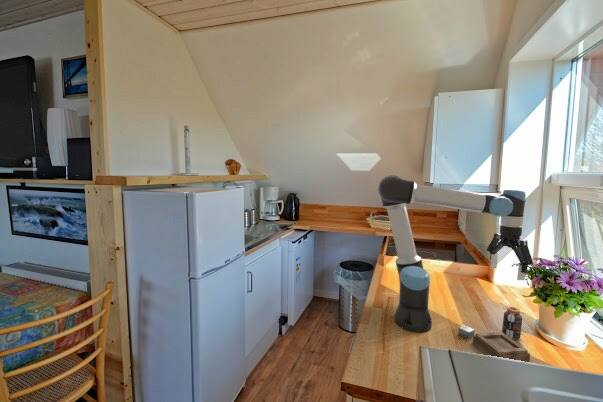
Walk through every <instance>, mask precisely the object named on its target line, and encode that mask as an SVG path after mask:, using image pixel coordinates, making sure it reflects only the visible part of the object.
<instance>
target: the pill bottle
mask: <svg viewBox="0 0 603 402" xmlns="http://www.w3.org/2000/svg"><path fill="white" fill-rule="evenodd" d="M520 313H521V310H520V309H519V308H517V307H515V306H507V310H506V311H505V312H503V318H502V319H503V320H502V330H501V332H503V333H504V334H505V335H507V336H508V337H510V338H511V339H513V340H519V339H521V335H522V326H523V316H522V315H521V314H520Z"/></svg>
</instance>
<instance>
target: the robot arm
mask: <svg viewBox="0 0 603 402" xmlns="http://www.w3.org/2000/svg"><path fill="white" fill-rule="evenodd" d="M378 194H379V196H380V200H381V203H382V207H383V208H384V209H386V211H387V215H388V219H389V223H390V228H391V229H390V230H391V232H392V237H393V241H394V245H395V246H394V247H395V251H396V255H397V258H396V259H395V265H396V269H397V274H398V278H399V300H398V305H397V307H396V310H395V312H394V315H393V316H394V318H393V320H395V321H394V322H395V324H396V323H397V324H398V325H397V324H396V325H397V326H399V327H400V326H401V327H400V328H402V327H403V328H402V329H404V328H405V329H404V330H406V329H407V330H406V331H409V330H410V332H413V331H414V333H425V332H428V331H430V330H431V329H432V324H433V323H432V321H433V320H432V317H431V313H430V311H429V298H430V296H429V294H430V283H431V278H430V274H429V271H428V270H426V269H424V265H423V259H422V257H421V256H419V255H418V254H417V249H416V244H415V241H414V236H413V231H412V227H411V222H410V218H409V214H408V211H407V210H408V209H407V205H411V204H413V203H416V204H423V205H428V206H437V207H440V208H448V209H456V210H463V211H469V212H475V213H480V214H481V213H482V214H486V215H487V214H488V215H492V216H495V217H500V225H499V232H495V233H494V234H493V237H492V239H491V241H490V243H489V244H488V246H487V248H486V251H487V252H489V255H490V256H489V260H490V266H489V268H490V269H497V267H498V259H499V257H498V256H499V254H498V252H499V251H500V250H502V249H503V248H504V247H507V248H510V249H511V250H512V251H513V252H514V254H515V256H516V258H517V259H518V261H519V264H518V267H517V268H518V269H517V278H516V279H517V281H526V274H527V273H528V268H529V267H528V266H533V265H534V262H533V261H534V260H533V258H532V254H531V252H530V249H529V247H528V240H527V239H521V236H522V235H523V234H522V232H523V227H522V226H523V224H524V223H523V222H524V212H525V207H526V201H527V200H526V196H527V195H526V191H525V190H524V189H521V188H520V189H516V188H505V189H503V192H502V193H493V192H492V193H489V192H475V191H467V190H459V189H452V188H445V187H438V186H431V185H423V184H417V183H416V182H415V181H412V180H406V179H403V178H401V177H399V176H397V175H394V174H393V175H387V176H385V177H383V178H381V181H380V182H379V185H378Z"/></svg>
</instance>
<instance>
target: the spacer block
mask: <svg viewBox="0 0 603 402" xmlns="http://www.w3.org/2000/svg"><path fill="white" fill-rule="evenodd" d="M458 335H459V336H462V338H465V339H467V340H470V339H471V338H472V339H473V335H475V328H473V327H470V326H468V325H466V324H463V325H461V326H459V327H458Z"/></svg>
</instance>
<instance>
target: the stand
mask: <svg viewBox="0 0 603 402" xmlns="http://www.w3.org/2000/svg"><path fill="white" fill-rule="evenodd" d="M472 344H473V345H475V346H476V347H477V348H478V349H479V350H480V351H482V352H483V353H484V354H485V355H486V356H487V355H491V356H497V357H503V358H509V359H514V360H521V361H527V362H526V363H530V358H531V353H530V352H528V349H526V347H524V346H522V345H521V344H520V343H519V342H518V341H517V342H516V341H515V339H512V338H510V337H508V336H507V335H505V334H504V333H503V332H502V331H499V332H497V331H495V332H485V333H484V332H483V333H482V332H481V333H474V335H473V337H472Z"/></svg>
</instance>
